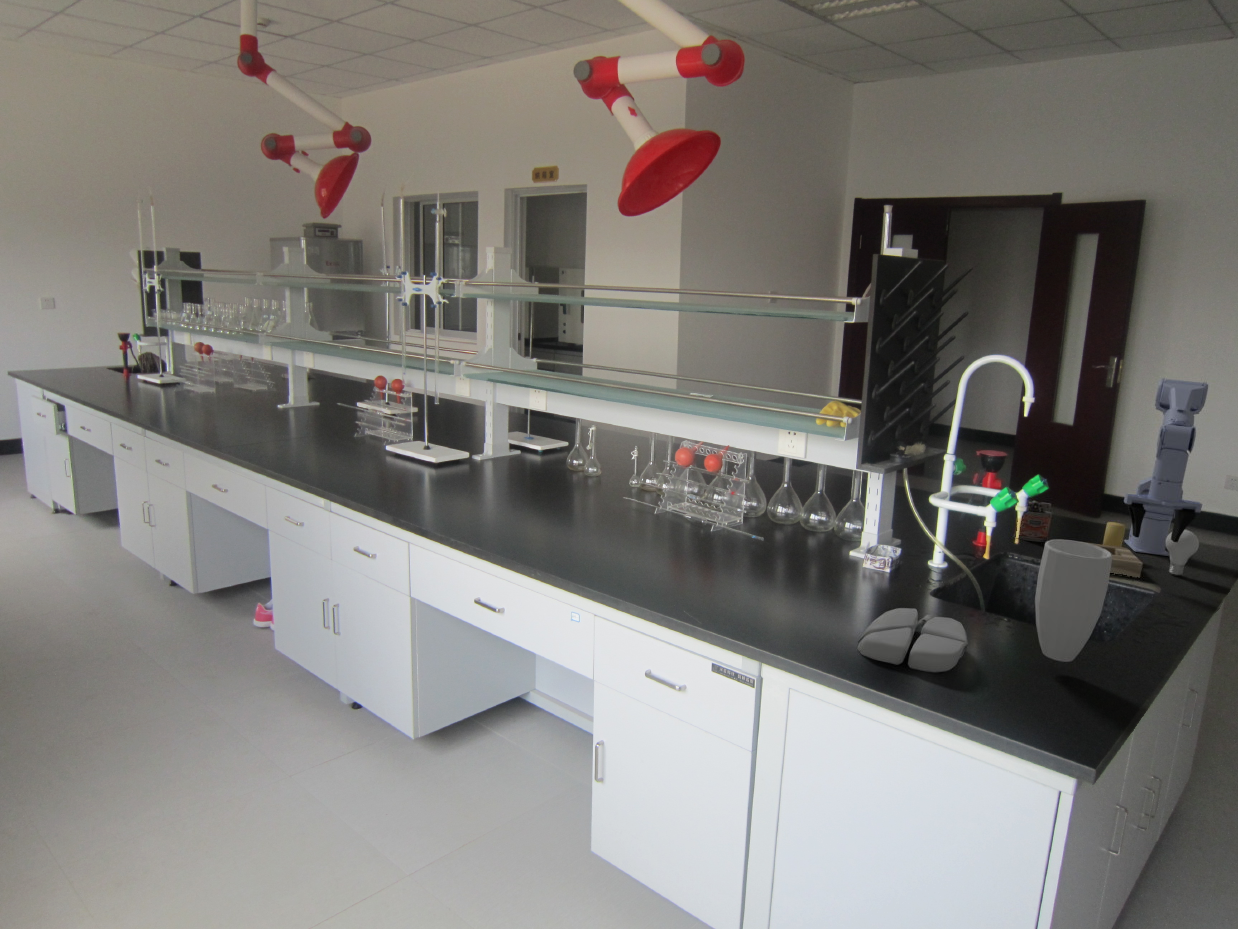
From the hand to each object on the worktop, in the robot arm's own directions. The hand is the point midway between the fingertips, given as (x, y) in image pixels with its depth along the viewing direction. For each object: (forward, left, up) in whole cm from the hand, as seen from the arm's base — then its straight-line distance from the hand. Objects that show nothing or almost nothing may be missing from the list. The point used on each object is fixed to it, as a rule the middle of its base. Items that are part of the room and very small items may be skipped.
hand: (1154, 538), depth 183 cm
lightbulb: (-8, +8, -10) cm, 15 cm away
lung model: (+57, -52, -11) cm, 79 cm away
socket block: (-8, -7, -10) cm, 14 cm away
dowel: (-18, -3, -10) cm, 20 cm away
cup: (+60, -31, -10) cm, 69 cm away
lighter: (-24, -20, -10) cm, 32 cm away
